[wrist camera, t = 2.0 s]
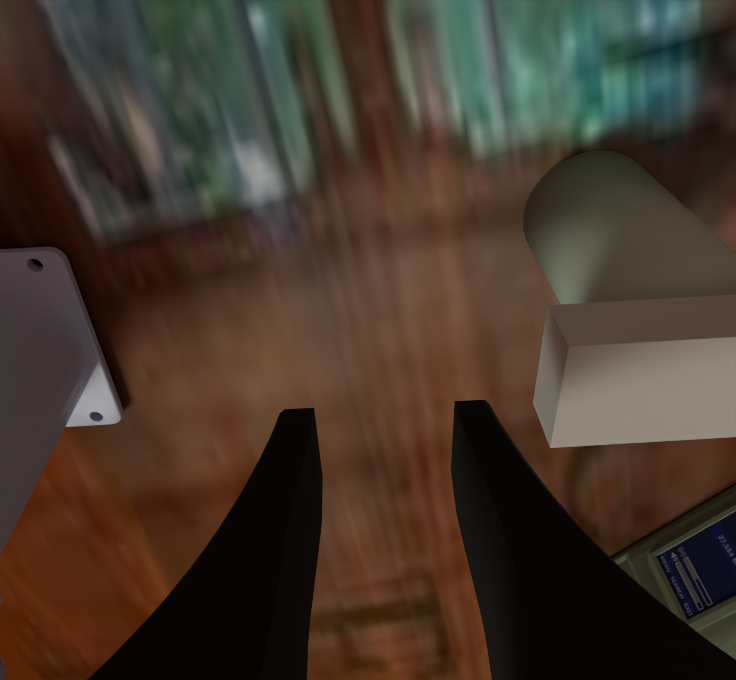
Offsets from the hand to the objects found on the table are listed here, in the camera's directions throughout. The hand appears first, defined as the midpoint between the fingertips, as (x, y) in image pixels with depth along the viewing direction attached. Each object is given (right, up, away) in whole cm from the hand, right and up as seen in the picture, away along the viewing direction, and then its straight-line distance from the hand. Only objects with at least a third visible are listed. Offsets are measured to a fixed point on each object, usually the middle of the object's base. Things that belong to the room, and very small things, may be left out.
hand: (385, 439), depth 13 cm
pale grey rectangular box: (+10, +2, +2) cm, 10 cm away
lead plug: (+7, +6, +9) cm, 13 cm away
